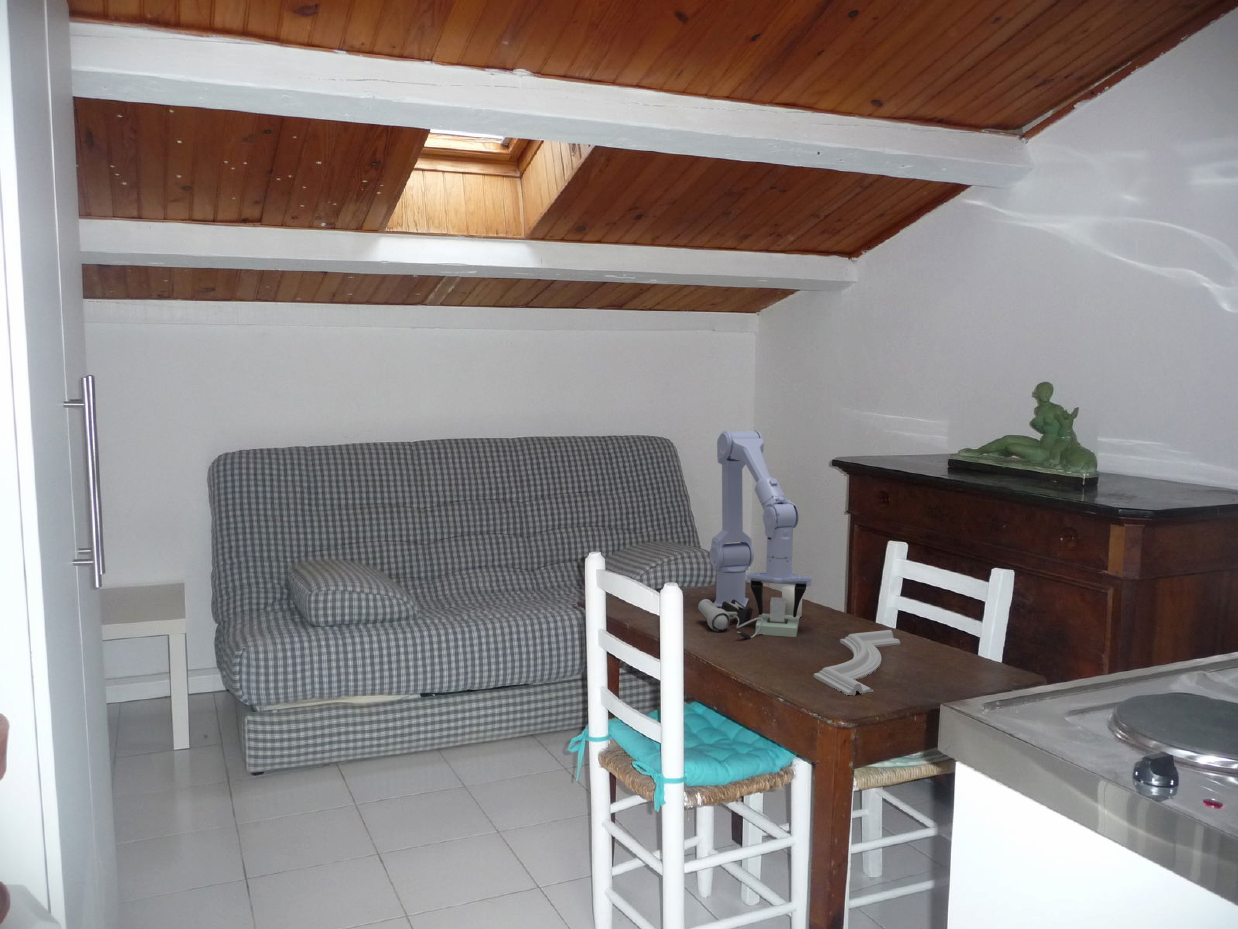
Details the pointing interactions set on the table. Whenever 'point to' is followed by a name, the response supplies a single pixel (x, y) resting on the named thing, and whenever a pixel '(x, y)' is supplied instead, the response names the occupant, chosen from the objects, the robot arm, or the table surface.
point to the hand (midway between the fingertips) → (777, 615)
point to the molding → (857, 661)
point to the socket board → (778, 626)
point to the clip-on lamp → (727, 615)
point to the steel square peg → (777, 610)
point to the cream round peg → (790, 600)
